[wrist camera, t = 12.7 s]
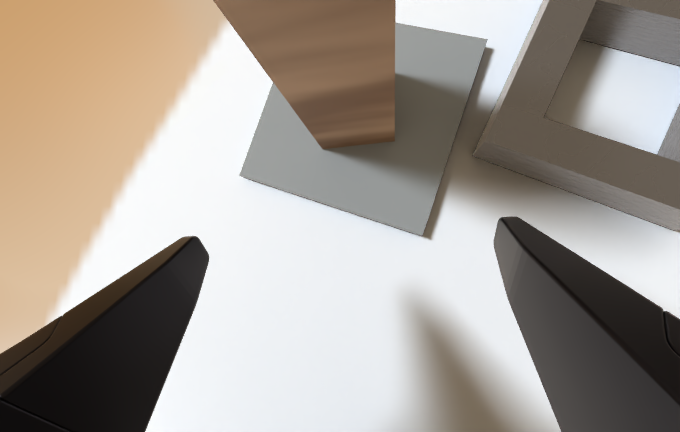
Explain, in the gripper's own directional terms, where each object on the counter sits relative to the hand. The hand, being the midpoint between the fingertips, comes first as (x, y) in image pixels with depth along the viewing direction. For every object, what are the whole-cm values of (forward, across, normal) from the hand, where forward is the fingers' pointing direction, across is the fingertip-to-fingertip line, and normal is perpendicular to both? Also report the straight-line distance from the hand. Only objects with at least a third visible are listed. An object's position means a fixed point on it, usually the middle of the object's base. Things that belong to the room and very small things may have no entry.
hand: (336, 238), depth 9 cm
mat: (+12, 0, +1) cm, 12 cm away
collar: (+11, -14, +2) cm, 18 cm away
